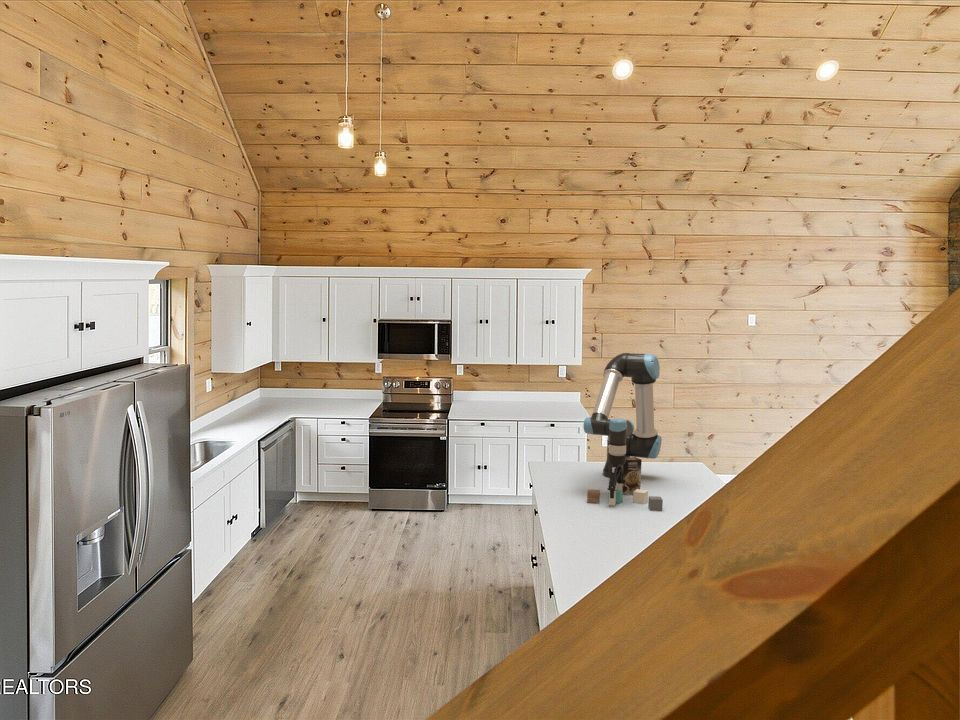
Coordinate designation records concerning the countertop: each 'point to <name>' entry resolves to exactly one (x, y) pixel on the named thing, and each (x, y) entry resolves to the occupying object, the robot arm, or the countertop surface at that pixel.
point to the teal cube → (619, 496)
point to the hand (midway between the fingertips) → (615, 501)
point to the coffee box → (631, 475)
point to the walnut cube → (593, 496)
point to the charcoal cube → (655, 503)
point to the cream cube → (640, 496)
